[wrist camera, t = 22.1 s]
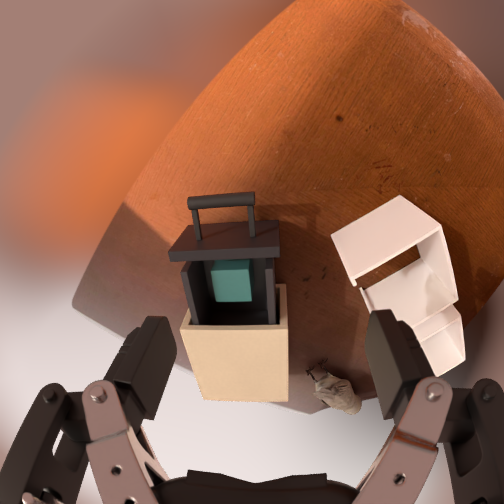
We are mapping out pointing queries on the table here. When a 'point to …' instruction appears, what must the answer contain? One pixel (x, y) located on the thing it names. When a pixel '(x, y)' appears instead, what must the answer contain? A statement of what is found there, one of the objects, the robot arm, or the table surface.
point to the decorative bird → (336, 392)
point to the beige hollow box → (240, 357)
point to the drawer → (223, 248)
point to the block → (233, 280)
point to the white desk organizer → (408, 276)
